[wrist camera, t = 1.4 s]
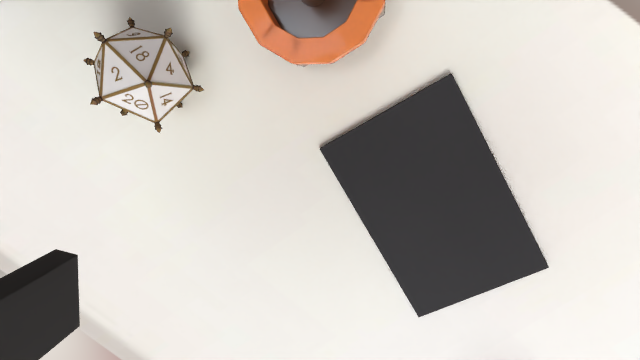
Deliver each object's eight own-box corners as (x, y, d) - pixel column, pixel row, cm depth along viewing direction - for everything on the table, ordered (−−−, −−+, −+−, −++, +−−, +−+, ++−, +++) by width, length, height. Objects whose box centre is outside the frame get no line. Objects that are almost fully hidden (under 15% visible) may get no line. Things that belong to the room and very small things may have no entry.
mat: (320, 147, 33) (319, 148, 32) (450, 73, 29) (451, 73, 29) (418, 314, 36) (418, 317, 36) (547, 265, 33) (549, 267, 32)
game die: (208, 73, 36) (232, 89, 28) (148, 130, 36) (156, 164, 28) (133, -5, 31) (138, -11, 23) (62, 61, 31) (42, 78, 23)
